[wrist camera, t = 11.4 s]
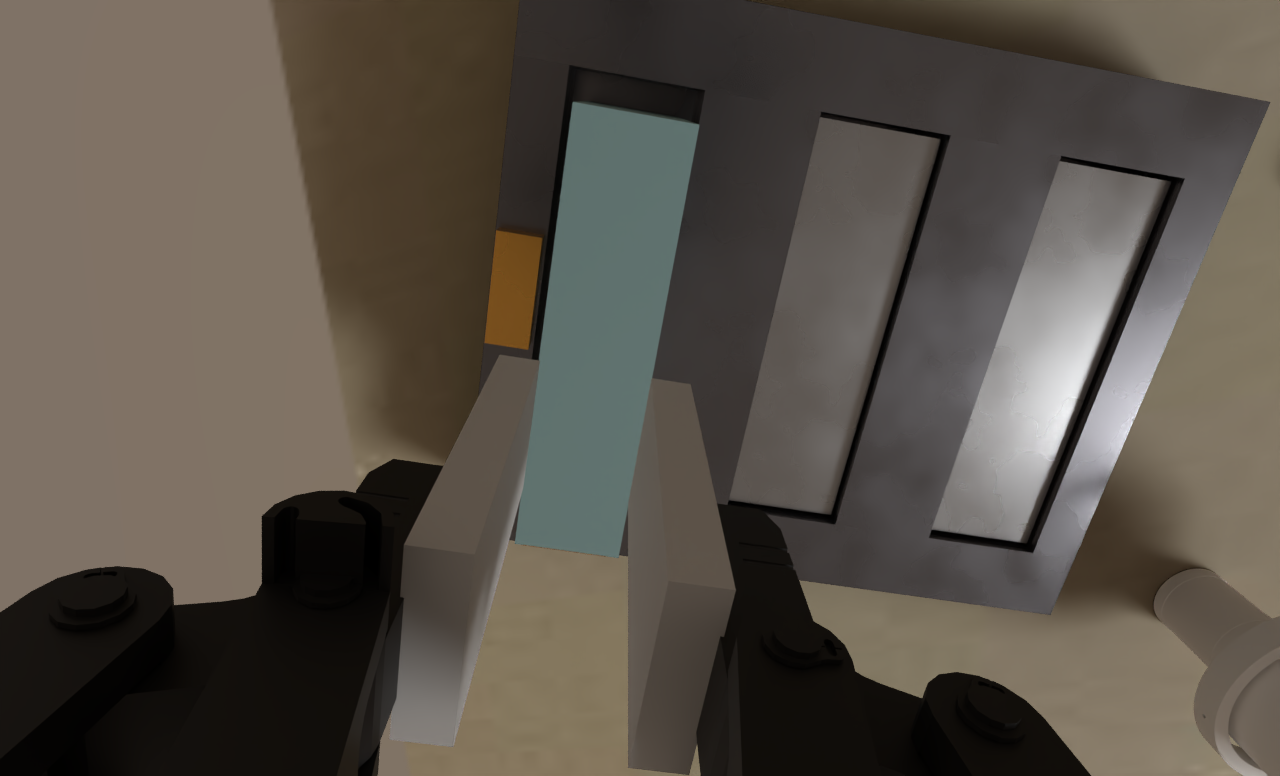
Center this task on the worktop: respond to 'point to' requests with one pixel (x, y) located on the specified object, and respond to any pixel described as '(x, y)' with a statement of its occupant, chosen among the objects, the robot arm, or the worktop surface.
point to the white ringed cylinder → (1229, 667)
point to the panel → (602, 322)
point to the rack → (887, 272)
